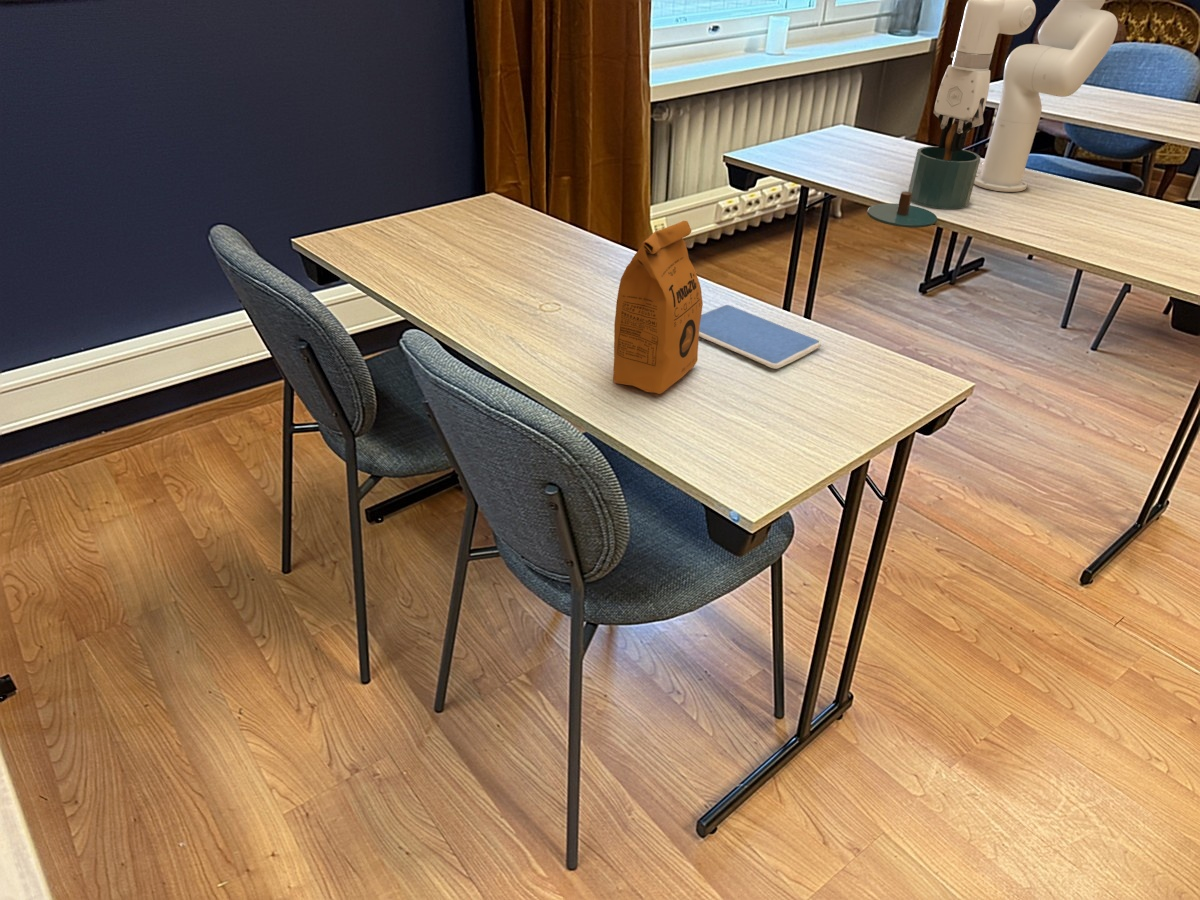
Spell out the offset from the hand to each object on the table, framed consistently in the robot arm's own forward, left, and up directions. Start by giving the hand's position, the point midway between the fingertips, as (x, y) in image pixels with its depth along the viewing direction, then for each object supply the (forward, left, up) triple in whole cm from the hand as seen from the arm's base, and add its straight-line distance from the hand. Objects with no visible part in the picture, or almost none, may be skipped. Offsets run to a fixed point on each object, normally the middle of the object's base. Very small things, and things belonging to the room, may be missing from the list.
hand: (950, 148), depth 194 cm
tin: (0, 0, -12) cm, 12 cm away
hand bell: (0, 0, -11) cm, 11 cm away
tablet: (+76, -56, -12) cm, 95 cm away
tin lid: (+15, -13, -11) cm, 23 cm away
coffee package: (+88, -72, -12) cm, 115 cm away
